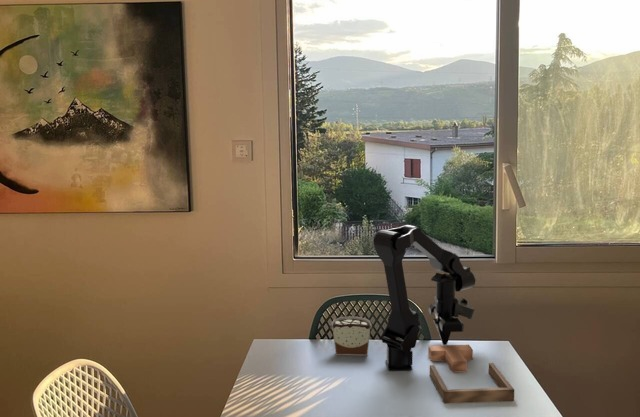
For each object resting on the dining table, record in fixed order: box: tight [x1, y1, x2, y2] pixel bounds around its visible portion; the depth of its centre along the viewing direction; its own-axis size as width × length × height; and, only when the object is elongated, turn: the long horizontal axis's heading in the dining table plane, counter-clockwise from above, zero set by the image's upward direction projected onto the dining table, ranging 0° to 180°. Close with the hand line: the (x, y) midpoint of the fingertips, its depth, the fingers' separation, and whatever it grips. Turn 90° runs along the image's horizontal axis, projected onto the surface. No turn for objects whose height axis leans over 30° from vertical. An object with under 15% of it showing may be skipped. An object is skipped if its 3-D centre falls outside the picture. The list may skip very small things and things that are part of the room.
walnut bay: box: [429, 362, 515, 404], centre depth 158 cm, size 17×16×3 cm
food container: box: [330, 316, 373, 356], centre depth 184 cm, size 12×6×10 cm, turn 84°
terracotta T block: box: [427, 344, 474, 373], centre depth 174 cm, size 12×12×3 cm
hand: (444, 344), depth 185 cm, fingers closed
